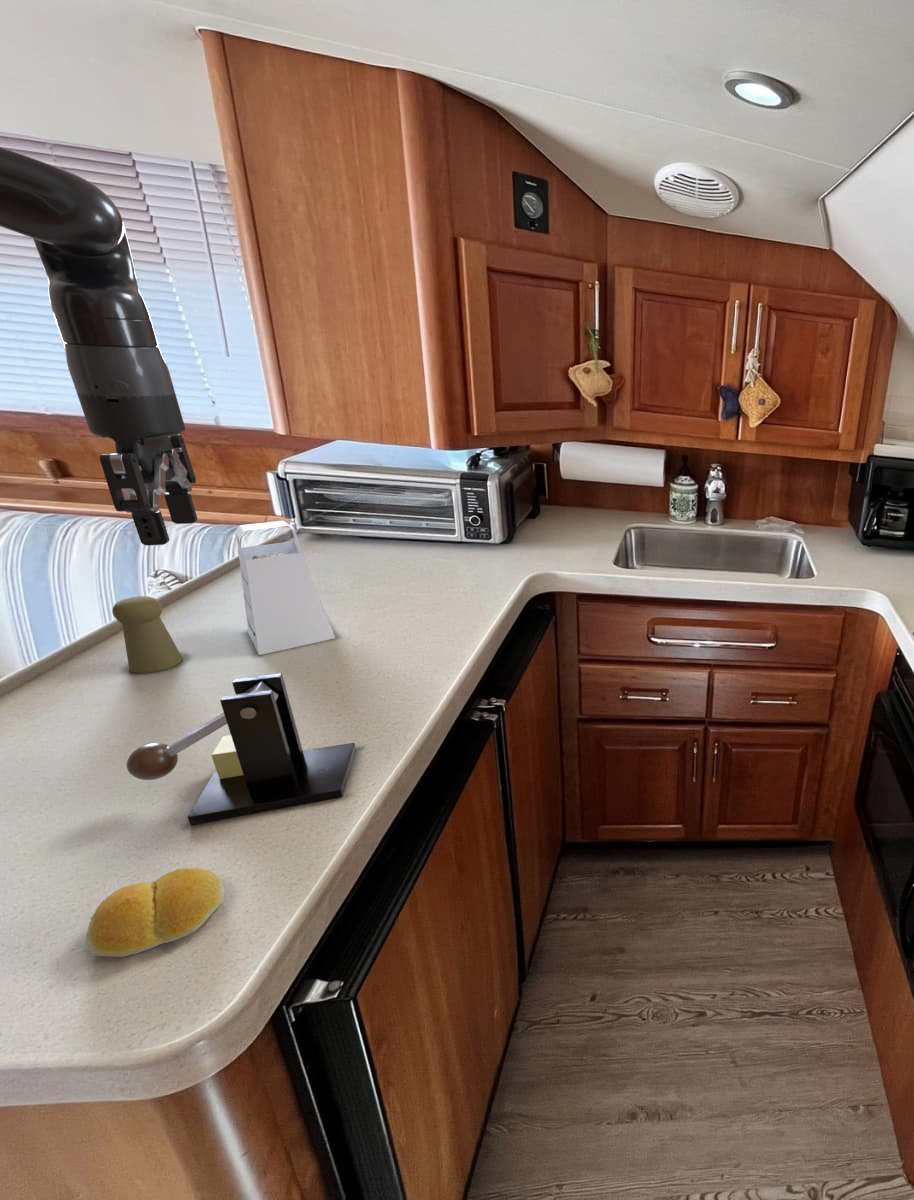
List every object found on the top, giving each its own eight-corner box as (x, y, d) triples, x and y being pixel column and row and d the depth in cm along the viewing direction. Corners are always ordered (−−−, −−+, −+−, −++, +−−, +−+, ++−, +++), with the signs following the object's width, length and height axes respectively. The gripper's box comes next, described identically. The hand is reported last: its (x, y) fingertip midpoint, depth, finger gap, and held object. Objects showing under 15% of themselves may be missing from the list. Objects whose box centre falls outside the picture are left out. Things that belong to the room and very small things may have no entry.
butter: (219, 779, 75) (211, 755, 74) (230, 759, 79) (222, 736, 77) (261, 772, 77) (254, 748, 76) (270, 753, 80) (263, 730, 79)
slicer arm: (144, 793, 70) (108, 772, 67) (159, 771, 73) (126, 750, 71) (277, 713, 72) (247, 689, 70) (286, 695, 75) (258, 672, 73)
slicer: (190, 826, 70) (151, 720, 65) (221, 771, 78) (188, 674, 73) (342, 797, 76) (317, 698, 70) (356, 749, 84) (335, 658, 79)
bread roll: (227, 925, 59) (215, 894, 58) (88, 977, 54) (71, 944, 52) (227, 869, 65) (217, 839, 64) (102, 911, 60) (87, 879, 58)
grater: (248, 632, 111) (217, 522, 103) (320, 618, 118) (296, 513, 110) (259, 655, 104) (226, 538, 96) (335, 638, 111) (310, 528, 104)
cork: (184, 665, 100) (163, 601, 95) (130, 677, 95) (105, 610, 91) (180, 651, 103) (159, 588, 99) (128, 662, 99) (104, 597, 95)
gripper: (111, 381, 73) (155, 518, 79) (39, 395, 61) (98, 554, 67) (196, 384, 76) (232, 516, 82) (143, 398, 64) (190, 550, 70)
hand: (171, 533), depth 75 cm, fingers open, 8 cm apart
